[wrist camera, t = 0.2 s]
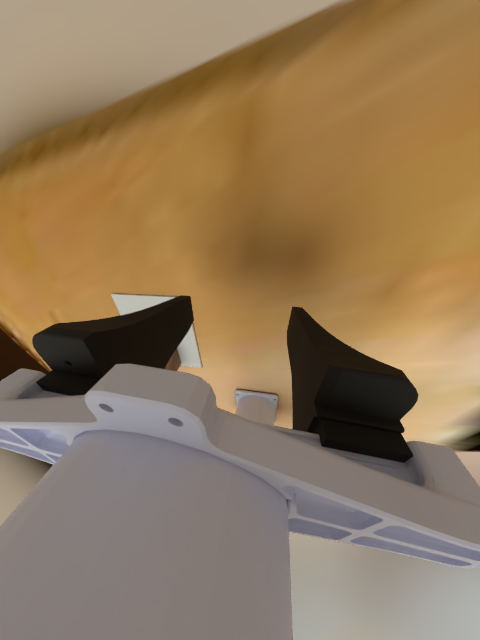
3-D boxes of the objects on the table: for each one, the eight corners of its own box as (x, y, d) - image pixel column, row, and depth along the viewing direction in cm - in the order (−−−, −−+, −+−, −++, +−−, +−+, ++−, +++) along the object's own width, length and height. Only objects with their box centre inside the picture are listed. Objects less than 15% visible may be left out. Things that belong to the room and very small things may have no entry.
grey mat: (202, 366, 32) (201, 368, 31) (143, 359, 34) (142, 361, 33) (187, 296, 24) (186, 297, 24) (112, 293, 26) (110, 294, 26)
